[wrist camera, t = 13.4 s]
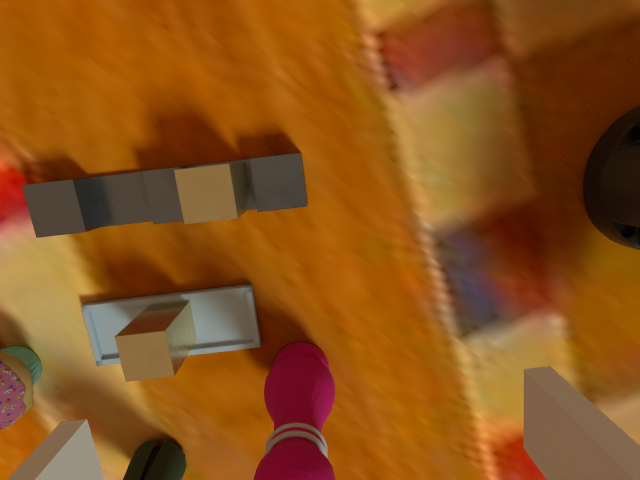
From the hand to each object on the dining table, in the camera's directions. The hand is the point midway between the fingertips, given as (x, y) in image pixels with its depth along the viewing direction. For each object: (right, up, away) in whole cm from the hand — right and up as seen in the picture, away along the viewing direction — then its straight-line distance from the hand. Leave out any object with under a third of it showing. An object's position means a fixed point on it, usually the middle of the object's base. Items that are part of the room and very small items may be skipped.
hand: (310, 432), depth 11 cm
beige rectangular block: (-16, -3, +29) cm, 33 cm away
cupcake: (-33, -8, +31) cm, 46 cm away
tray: (-16, -3, +30) cm, 34 cm away
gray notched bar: (-14, +11, +27) cm, 32 cm away
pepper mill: (-2, -9, +31) cm, 33 cm away
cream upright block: (-9, +11, +26) cm, 30 cm away
